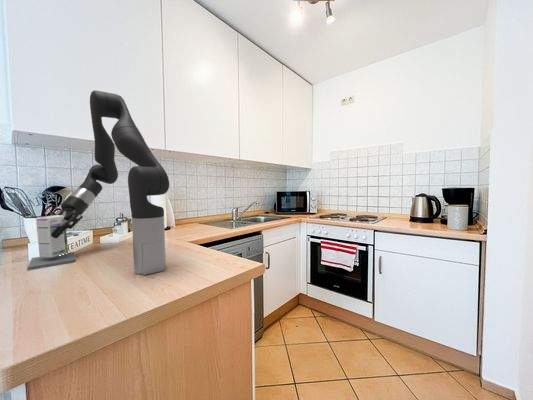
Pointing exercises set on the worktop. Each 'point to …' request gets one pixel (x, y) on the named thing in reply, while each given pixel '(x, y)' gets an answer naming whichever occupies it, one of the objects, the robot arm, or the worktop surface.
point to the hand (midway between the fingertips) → (46, 236)
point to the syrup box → (45, 240)
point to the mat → (51, 261)
